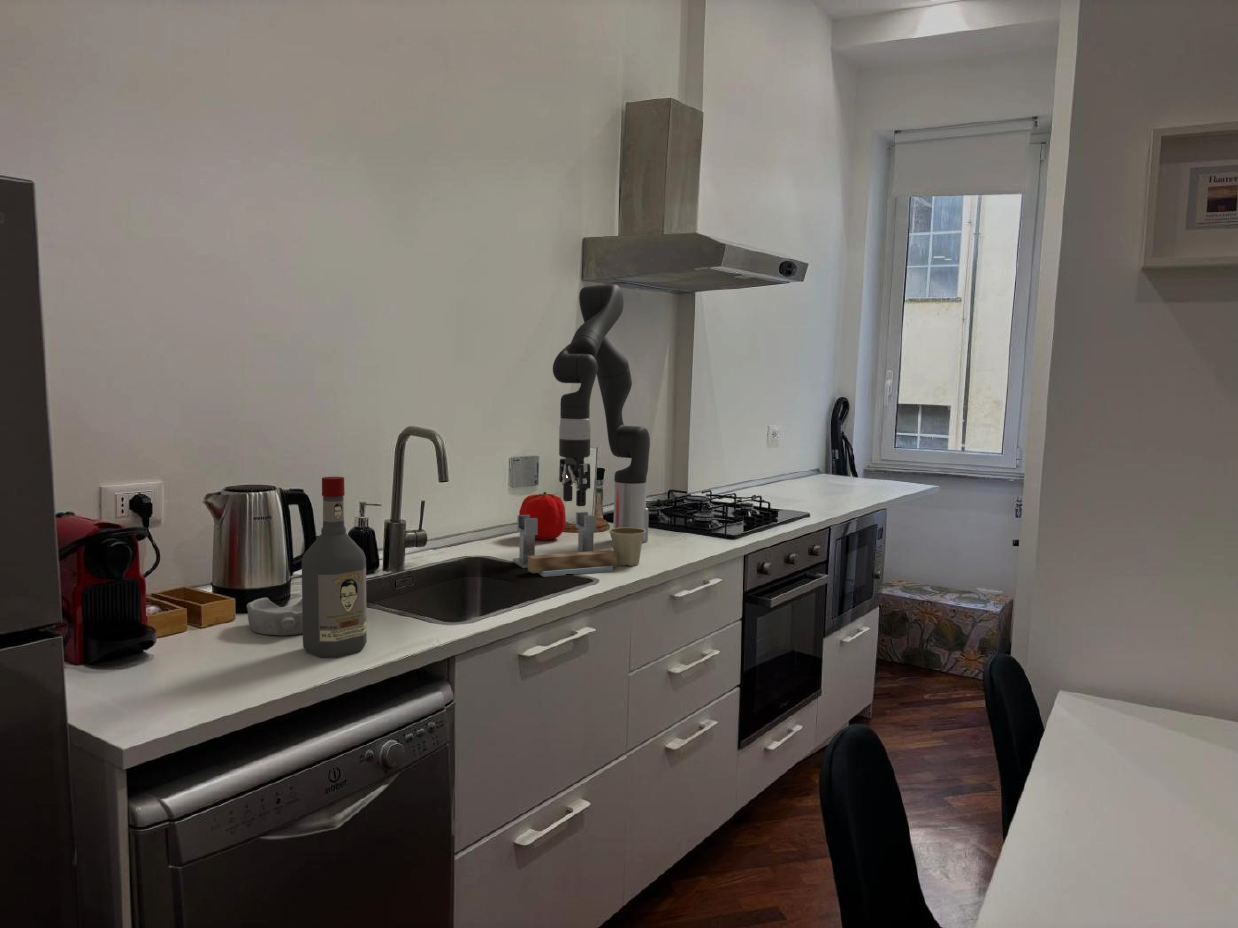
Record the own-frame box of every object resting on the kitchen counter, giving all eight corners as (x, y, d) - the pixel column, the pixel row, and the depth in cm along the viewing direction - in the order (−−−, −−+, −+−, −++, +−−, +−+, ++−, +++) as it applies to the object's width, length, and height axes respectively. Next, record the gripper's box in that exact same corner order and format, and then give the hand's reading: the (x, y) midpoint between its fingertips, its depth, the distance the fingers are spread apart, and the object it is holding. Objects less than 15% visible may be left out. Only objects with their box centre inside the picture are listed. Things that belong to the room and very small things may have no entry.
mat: (599, 564, 232) (599, 560, 232) (612, 571, 225) (613, 566, 225) (532, 570, 225) (532, 565, 225) (543, 576, 217) (543, 571, 217)
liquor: (297, 649, 159) (294, 477, 156) (344, 638, 166) (342, 473, 163) (325, 661, 153) (323, 482, 150) (372, 649, 160) (371, 478, 157)
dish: (237, 626, 173) (237, 600, 172) (309, 614, 182) (309, 589, 182) (267, 644, 162) (266, 616, 162) (341, 630, 171) (341, 604, 171)
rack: (588, 556, 243) (589, 511, 242) (600, 562, 236) (601, 515, 234) (512, 561, 234) (512, 515, 233) (522, 567, 227) (523, 520, 226)
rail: (610, 563, 231) (610, 549, 231) (616, 566, 228) (616, 552, 227) (527, 570, 222) (527, 555, 221) (532, 573, 219) (532, 558, 218)
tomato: (560, 544, 258) (560, 496, 257) (512, 542, 260) (513, 494, 259) (572, 534, 274) (572, 489, 272) (527, 532, 276) (527, 487, 274)
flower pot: (602, 565, 232) (603, 531, 231) (616, 558, 240) (616, 526, 239) (637, 569, 228) (638, 534, 227) (650, 562, 237) (650, 529, 236)
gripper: (600, 439, 217) (600, 507, 218) (577, 434, 229) (577, 498, 231) (571, 439, 213) (570, 508, 215) (549, 435, 226) (549, 500, 228)
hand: (574, 503), depth 223 cm, fingers open, 8 cm apart
